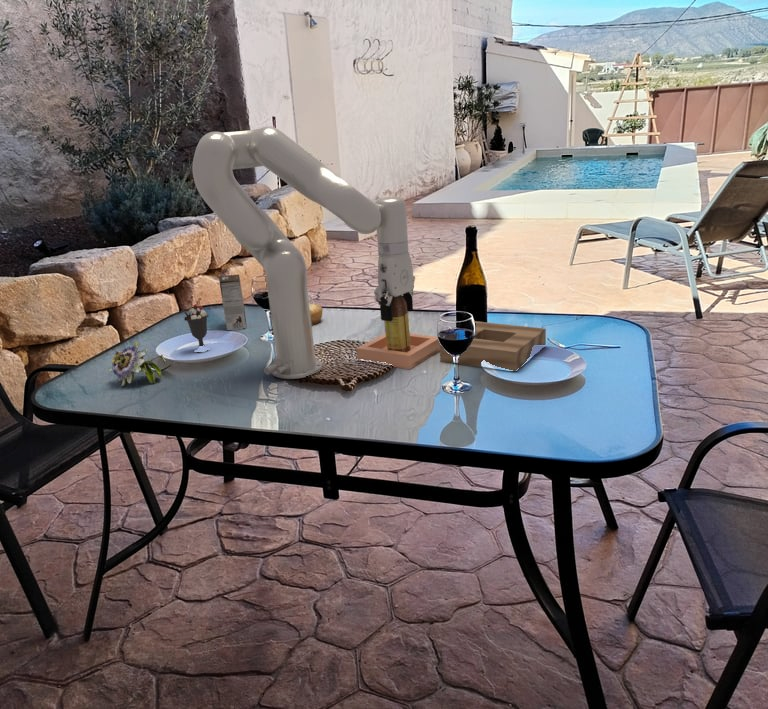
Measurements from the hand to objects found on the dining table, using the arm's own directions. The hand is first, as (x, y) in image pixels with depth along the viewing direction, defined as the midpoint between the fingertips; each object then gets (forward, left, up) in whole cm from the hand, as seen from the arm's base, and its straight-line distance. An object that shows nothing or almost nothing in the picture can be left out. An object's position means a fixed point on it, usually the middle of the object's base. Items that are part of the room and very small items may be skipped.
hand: (397, 315), depth 159 cm
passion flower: (-42, +52, -11) cm, 68 cm away
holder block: (+10, -22, -11) cm, 26 cm away
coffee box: (+4, +65, -11) cm, 66 cm away
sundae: (-18, +56, -11) cm, 60 cm away
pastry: (+16, +46, -11) cm, 50 cm away
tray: (0, 0, -11) cm, 11 cm away
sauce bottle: (0, 0, -10) cm, 10 cm away
